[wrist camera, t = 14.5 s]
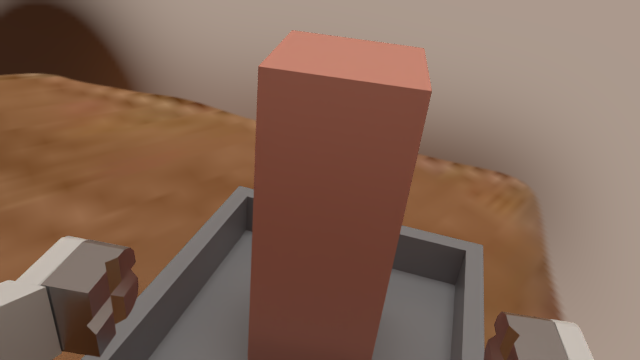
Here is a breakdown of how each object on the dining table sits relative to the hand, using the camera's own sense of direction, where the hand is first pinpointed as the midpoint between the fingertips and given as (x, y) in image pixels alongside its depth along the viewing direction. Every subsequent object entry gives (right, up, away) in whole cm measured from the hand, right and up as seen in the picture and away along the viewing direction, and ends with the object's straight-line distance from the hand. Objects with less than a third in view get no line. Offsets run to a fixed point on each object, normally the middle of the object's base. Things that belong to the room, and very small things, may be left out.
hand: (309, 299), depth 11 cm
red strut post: (0, -4, +10) cm, 11 cm away
